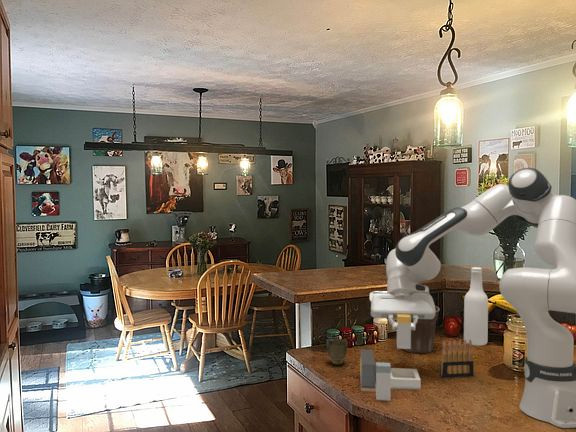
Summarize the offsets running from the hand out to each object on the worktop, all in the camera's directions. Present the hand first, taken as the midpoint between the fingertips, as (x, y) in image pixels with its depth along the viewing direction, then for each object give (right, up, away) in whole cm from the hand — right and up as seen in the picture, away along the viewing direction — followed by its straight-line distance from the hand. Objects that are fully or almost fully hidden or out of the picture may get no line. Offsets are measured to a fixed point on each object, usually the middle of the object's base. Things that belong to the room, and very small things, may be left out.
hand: (403, 329), depth 152 cm
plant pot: (+13, -16, +35) cm, 41 cm away
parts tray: (0, -17, +1) cm, 17 cm away
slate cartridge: (-8, -18, -10) cm, 22 cm away
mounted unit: (-11, -17, +3) cm, 21 cm away
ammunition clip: (+19, -17, +7) cm, 26 cm away
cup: (-19, -17, +19) cm, 31 cm away
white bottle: (+38, -15, +42) cm, 59 cm away
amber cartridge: (0, -6, +1) cm, 6 cm away
